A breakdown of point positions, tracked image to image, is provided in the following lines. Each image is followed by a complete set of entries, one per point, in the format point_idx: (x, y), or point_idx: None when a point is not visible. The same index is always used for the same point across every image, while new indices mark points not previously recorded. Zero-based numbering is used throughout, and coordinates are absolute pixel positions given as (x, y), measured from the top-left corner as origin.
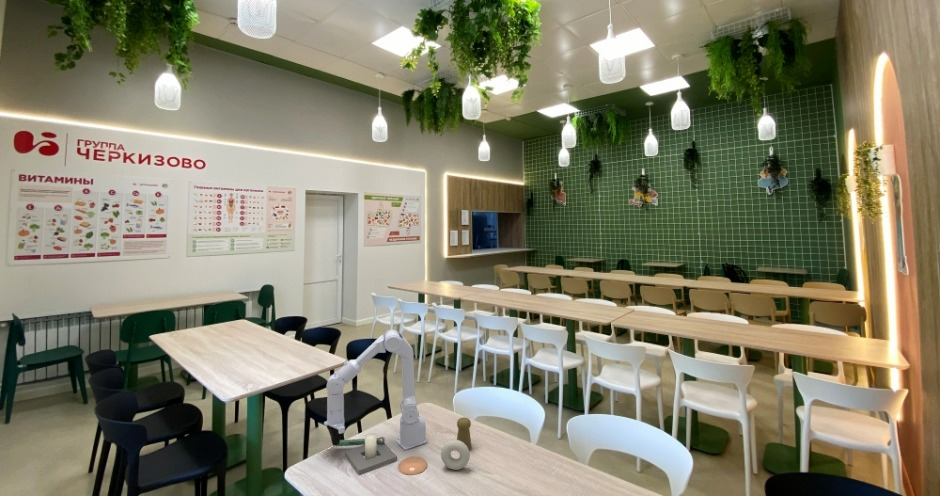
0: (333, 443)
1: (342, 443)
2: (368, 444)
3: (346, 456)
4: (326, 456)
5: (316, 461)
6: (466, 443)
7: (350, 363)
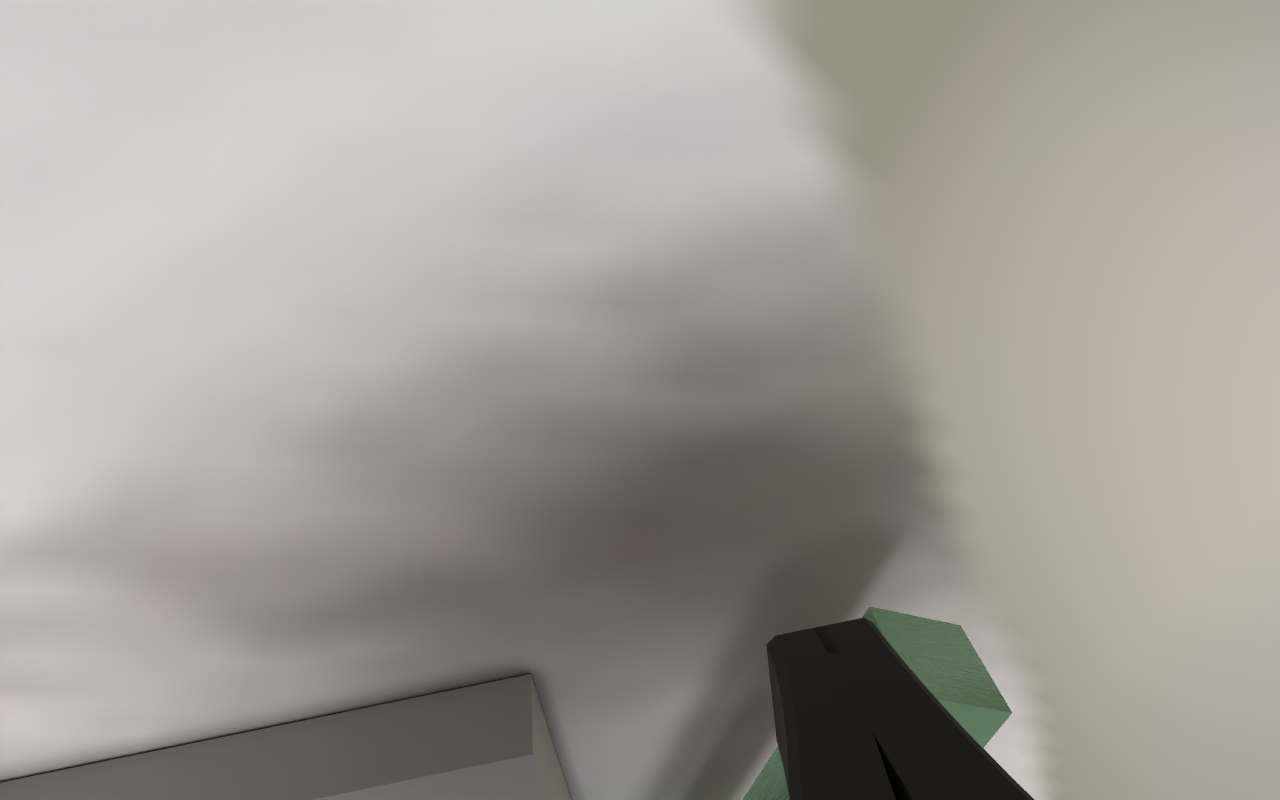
0: (781, 709)
1: None
2: None
3: (419, 720)
4: (690, 327)
5: (549, 34)
6: None
7: None
